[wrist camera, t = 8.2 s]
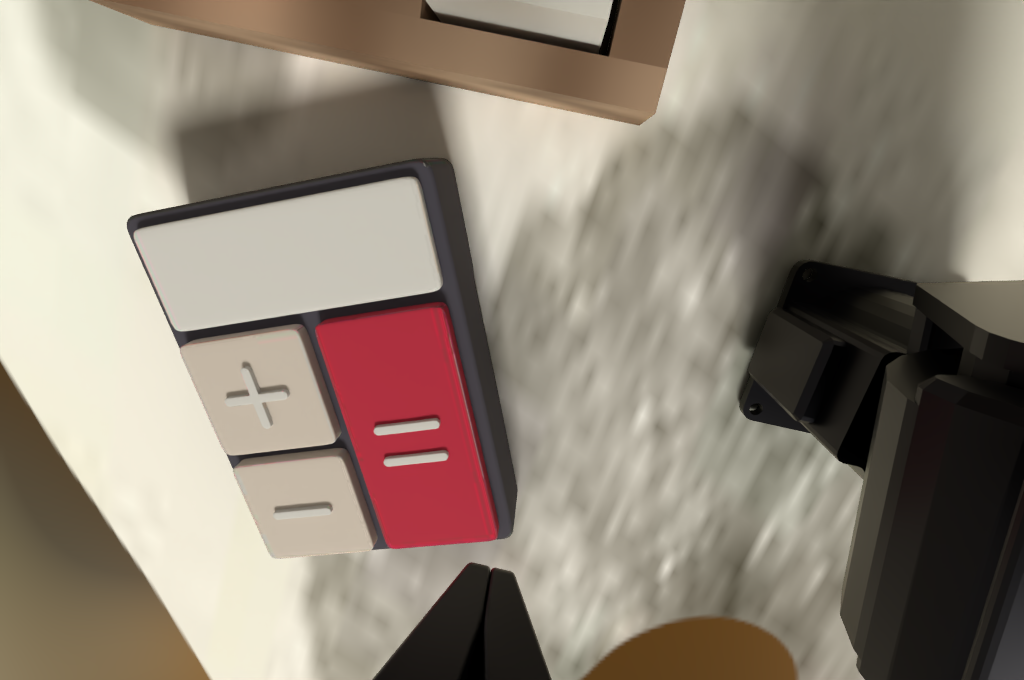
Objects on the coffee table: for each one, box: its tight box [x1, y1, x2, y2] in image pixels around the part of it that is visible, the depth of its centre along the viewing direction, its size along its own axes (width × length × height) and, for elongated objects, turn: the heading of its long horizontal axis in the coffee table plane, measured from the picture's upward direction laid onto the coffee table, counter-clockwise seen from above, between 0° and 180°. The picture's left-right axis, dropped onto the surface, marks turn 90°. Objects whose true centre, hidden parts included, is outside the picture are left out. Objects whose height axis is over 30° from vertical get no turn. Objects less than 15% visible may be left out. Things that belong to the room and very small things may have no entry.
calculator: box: [127, 158, 517, 559], centre depth 20 cm, size 11×4×15 cm
